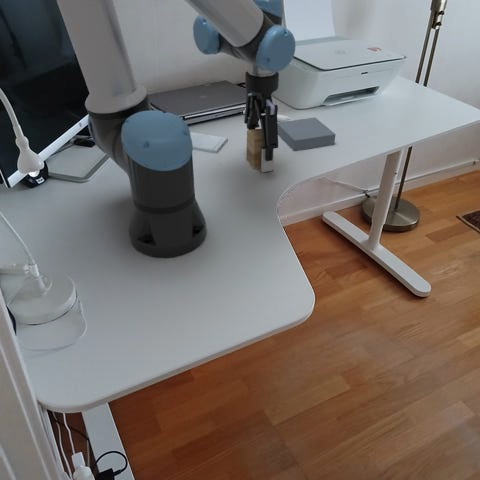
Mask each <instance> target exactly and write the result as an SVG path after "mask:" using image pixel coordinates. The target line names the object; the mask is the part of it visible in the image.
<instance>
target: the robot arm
mask: <svg viewBox="0 0 480 480" xmlns="http://www.w3.org/2000/svg"><path fill="white" fill-rule="evenodd" d="M184 2H185V3H187V4H188V5H189V6H190V7H191V8H192V9H193V10H194V11H195V12H197V13H198V15H197V16H196V17H195V19H194V21H193V25H192V26H193V27H192V30H193V34H192V35H193V40H194V43H195V46H196V47H197V49H198V51H199V52H200V53H201V54H203V55H207V56H208V55H218V54H221V53H222V54H223V53H224V54H226V55H227V56H230V57H233V58H236V59H238V60H241V61H243V62H244V69H245V71H246V72H245V74H244V75H245V77H244V82H245V84H244V85H245V89H246V90H245V92H246V99H245V100H246V101H245V107H246V108H245V114H244V119H243V122H244V124H246V129H247V131H248V130H255V129H259V128H260V129H261V130H262V137H263V144H264V146H263V147H261V149H262V161H261V168H260V172H261V173H267V172H273V169H274V167H273V166H274V151H275V149H279V135H278V124H277V123H278V121H277V114H278V110H279V108H278V107H279V106H278V104H273V97H272V94H273V93H274V92H276V91H277V90H278V89H279V81H280V80H279V78H280V74H279V72H282V71H284V70H285V69H286V68H287V67H288V66H289V65H290V63H291V61H292V60H293V58H294V56H295V52H296V39H295V37H294V34H293V33H292V31H291V30H289V29H288V28H286V27H284V26H283V24H282V23H283V0H184ZM56 3H57V6H58V9H59V11H60V14H61V16H62V19H63V22H64V25H65V28H66V31H67V34H68V36H69V40H70V43H71V45H72V48H73V51H74V53H75V55H76V58H77V59H76V60H77V62H78V64H79V67H80V70H81V73H82V76H83V78H84V81H85V85H86V86H87V90H88V92H89V94H88V96H87V97H86V100H85V102H84V106H85V109H86V110H87V114H88V115H87V127H88V131H89V134H90V137H91V138H92V140H93V142H94V143H95V145H96V147H97V148H98V149H100V150H101V152H103V153H104V154H106V155H107V157H109V158H110V160H112V161H113V162H114V163H115V164H116V165H117V166H118V167H119V168H120V169H122V170H123V172H124V173H126V174H127V177H128V179H129V185H130V191H131V196H132V198H131V199H132V209H131V216H130V220H129V224H128V234H129V235H128V236H129V240H130V243H131V245H132V246H133V248H134V249H136V250H137V251H138V252H140V253H142V254H144V255H146V256H149V257H155V258H171V257H177V256H182V255H184V254H188V253H189V252H191V251H193V250H195V249H196V248H198V247H199V246H200V245H201V244H202V243H203V242H204V241H205V238H206V235H207V224H206V223H207V222H206V218H205V216H204V214H203V212H202V210H201V207H200V206H199V203H198V201H197V198H196V193H195V192H196V191H195V190H196V189H195V176H194V175H195V174H194V161H193V160H194V158H193V151H194V150H193V145H192V139H191V135H190V132H191V131H190V129H189V125H188V123H186V121H185V120H184V119H183V118H181V117H180V116H179V115H176V114H174V113H171V112H169V111H166V112H164V111H163V110H155V109H153V110H152V106H151V101H150V98H149V95H148V92H147V91H148V90H147V89H146V87H145V86H143V85H142V84H140V83H138V82H137V81H136V79H135V75H134V72H133V68H132V64H131V60H130V57H129V53H128V50H127V46H126V44H125V42H126V41H125V39H124V36H123V31H122V29H121V25H120V21H119V17H118V15H117V14H118V13H117V10H116V7H115V4H114V0H56ZM261 114H265V115H261Z"/></svg>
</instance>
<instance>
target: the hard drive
mask: <svg viewBox="0 0 480 480" xmlns="http://www.w3.org/2000/svg"><path fill="white" fill-rule="evenodd" d="M190 135H191V139H192V145H193V151H198V152H205V153H211V154H218V153H220V151H221V150H222V149H223V147H224V146H225V145H226V144H227V143H228V141H229V139H228V137H223V136H216V135H209V134H204V133H198V132H192V131H190Z"/></svg>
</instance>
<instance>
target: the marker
mask: <svg viewBox="0 0 480 480" xmlns="http://www.w3.org/2000/svg"><path fill="white" fill-rule="evenodd" d="M243 115H245V110H244V111H243ZM261 115H265V114H261ZM286 121H293V119H292V118H291V117H289V116H287V115H282V114H278V113H277V123H279V122H286Z"/></svg>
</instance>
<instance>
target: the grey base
mask: <svg viewBox="0 0 480 480" xmlns="http://www.w3.org/2000/svg"><path fill="white" fill-rule="evenodd" d="M277 124H278V137H280V138H281V140H283V142H284V143H286V145H287V146H288V147H289V148H290V149H291V150H292V151H293V152H297V151H302V150H309V149H313V148H315V149H316V148H321V147H327V146H333V145H334V146H335V141H336V133H335V132H334V131H332V129H330V128H329V127H327V125H325V124H324V123H323V122H321V121H320V120H319V119H318V118H317V117H314V116H313V117H309V118H302V119H301V118H300V119H295V120H293V119H292V121H286V122H277Z"/></svg>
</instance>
